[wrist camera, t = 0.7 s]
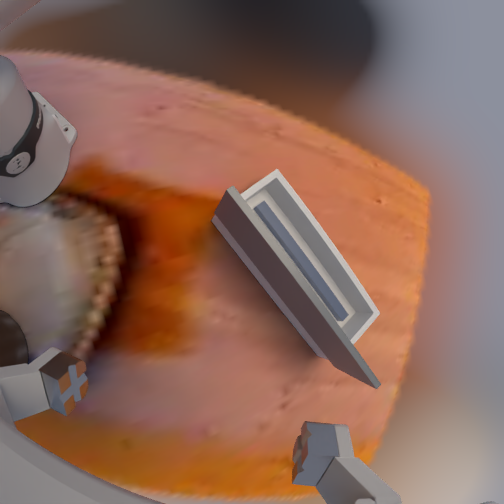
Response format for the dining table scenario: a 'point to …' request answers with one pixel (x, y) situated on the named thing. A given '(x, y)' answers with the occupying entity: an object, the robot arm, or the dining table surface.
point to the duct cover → (291, 286)
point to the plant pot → (11, 342)
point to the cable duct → (306, 258)
